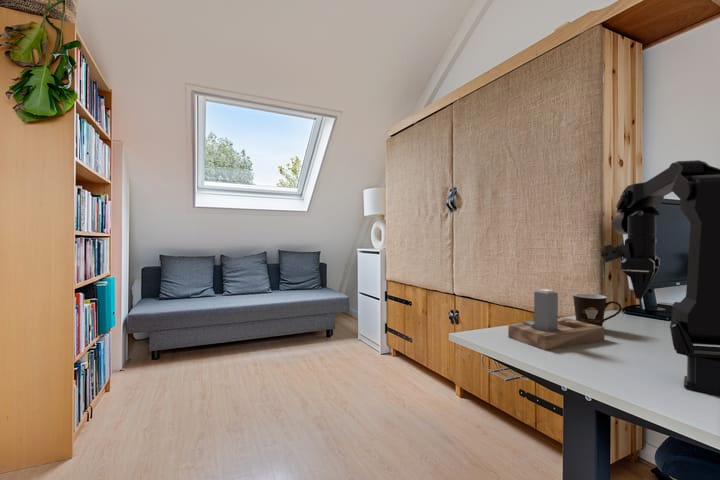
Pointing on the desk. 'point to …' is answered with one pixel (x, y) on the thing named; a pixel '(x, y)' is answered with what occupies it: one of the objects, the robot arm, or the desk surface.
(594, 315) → the coffee mug
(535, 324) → the plug
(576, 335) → the socket board
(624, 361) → the desk surface
